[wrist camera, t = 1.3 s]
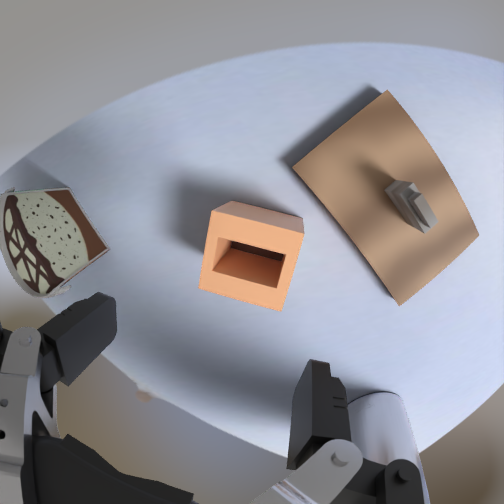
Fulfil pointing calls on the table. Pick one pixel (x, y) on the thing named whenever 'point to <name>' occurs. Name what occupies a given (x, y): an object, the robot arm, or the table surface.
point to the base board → (390, 196)
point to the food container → (46, 239)
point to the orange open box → (250, 254)
